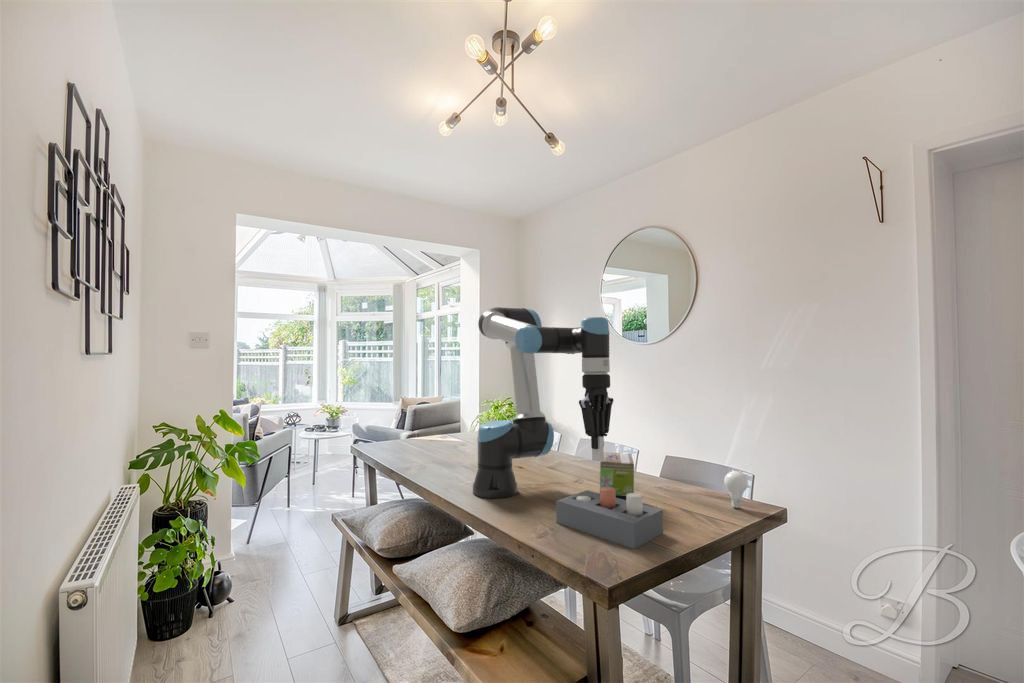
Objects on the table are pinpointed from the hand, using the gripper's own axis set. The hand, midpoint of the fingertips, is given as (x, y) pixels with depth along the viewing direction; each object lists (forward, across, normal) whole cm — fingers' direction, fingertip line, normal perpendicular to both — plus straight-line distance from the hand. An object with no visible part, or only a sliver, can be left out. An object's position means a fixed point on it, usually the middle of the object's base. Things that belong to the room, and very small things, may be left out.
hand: (597, 460), depth 123 cm
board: (+17, 0, -2) cm, 18 cm away
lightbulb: (+18, +42, -20) cm, 49 cm away
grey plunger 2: (+13, +1, -11) cm, 17 cm away
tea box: (+17, +18, +7) cm, 26 cm away
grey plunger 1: (+17, 0, +6) cm, 18 cm away
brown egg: (+13, 0, -3) cm, 13 cm away
